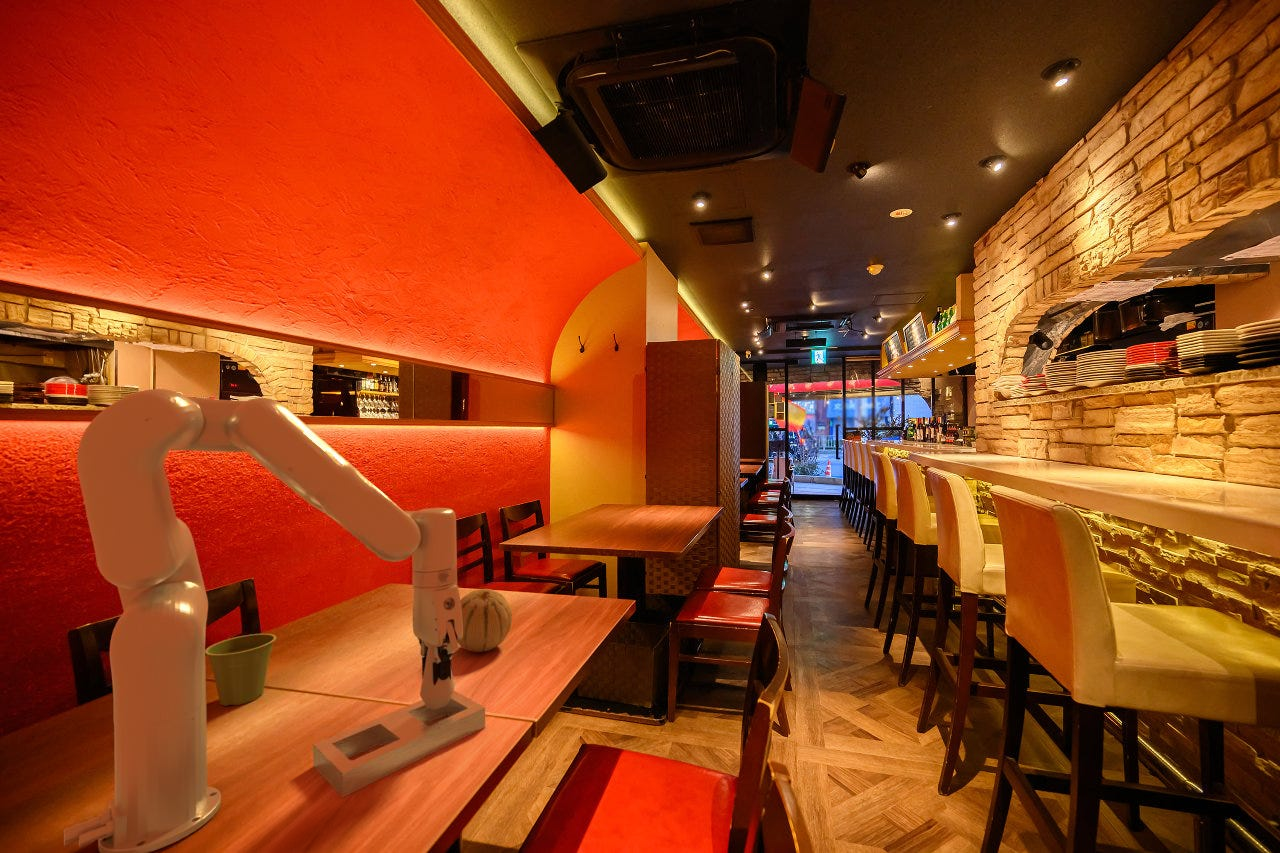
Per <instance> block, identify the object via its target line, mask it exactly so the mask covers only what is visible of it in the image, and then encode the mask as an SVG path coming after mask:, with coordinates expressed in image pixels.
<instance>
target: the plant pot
mask: <svg viewBox="0 0 1280 853" xmlns="http://www.w3.org/2000/svg"><path fill="white" fill-rule="evenodd" d="M276 639H277V636H276V635H275V634H272V633H254V634H252V633H251V634H248V635H247V634H246V635H241V636H235V637H232V638H231V637H230V638H227V639H224V640H222V641H218V642H217V643H213V644H212V645H210V646H208V647H207V648H205V656H206V655H207V656H208V660H209V663H210V665H211V668H212V671H213V677H214V681H215V686H216V691H217V695H218V701H219V704H220V705H221V706H224V707H228V706H229V705H233V706H240V705H243V704H246V703H249V702H252V701H254V700H257V699H258V698H259V697H260V696H261V695H263V694H264V690H265V685H266V680H267V673H268V668H269V661H270V657H271V652H272V650H273V644H274V642H275V641H276Z"/></svg>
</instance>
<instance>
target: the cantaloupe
mask: <svg viewBox="0 0 1280 853" xmlns="http://www.w3.org/2000/svg"><path fill="white" fill-rule="evenodd" d="M460 601H461V609H462V623H463V637H462V639H461V640H457V644H459V645H458V646H460V647H461V648H462V649H464V650H465V651H466V650H467V651H470V652H474V653H482V652H488V651H491V650H493V649H495V648H497V647H498V646H499V645H501V643H503V642H504V640H505V639H506V638H507V636H508V634H509V632H510V629H511V627H512V620H513V617H512V616H513V614H512V609H511V607H510V604H509V602H508V601H507V598H506V597H504V595H503V594H502V593H500V592H498V591H496V590H493V589H490V588H481V589H476V590H472V591H470V592H469V593H466V595H464V596H463V597H462V598H460Z"/></svg>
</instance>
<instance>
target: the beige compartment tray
mask: <svg viewBox="0 0 1280 853" xmlns="http://www.w3.org/2000/svg"><path fill="white" fill-rule="evenodd" d="M445 714H448V715H447V716H448V717H446V718H443V719H441V720H439V721H437V722H435V723H433V724H430V725H427V724H429V723H431V722H433V721H435V720H437V718H438V719H439V717H440V718H442V717H444V716H446V715H445ZM443 715H444V716H443ZM449 715H450V716H449ZM441 716H442V717H441ZM484 728H486V707H485V706H483V705H481V704H480V703H478V702H475V701H474V700H472V699H470V698H468V697H467V696H464V695H463V694H462V693H459V692H457V691H456V690H454V692H453V694H452V696H451V699H450V701H449V703H448V704H447V706H444V707H441V708H438V709H429V708H427V707H426V705H425V703H424V701H423V700H422V699H421V700H418V701H415V702H413V703H411V704H408V705H407V706H403V707H401V708H400V709H395V710H394V711H392V712H389V713H386V714H384V715H382V716H379V717H377V718H374V719H372V720H370V721H367V722H365V723H361V724H360V725H357V726H355V727H353V728H349V729H347V730H345V731H343V732H340V733H337V734H334V735H333V736H331V737H328V738H325V739H322V740H320V741H318V742H316V743H315V742H314V744H313V747H312V748H313V767H314V768H315V769H316V770H317V772H318V773H319V774H320V775H322V777H323V778H324V779H325V780H326V781H327V782H328V783H329V784H330V785H331V786H332V787H333V789H334V790H335V791H336V792H337V793H338V794H339V795H340V796H341V797H342V798H345V797H348V795H351V794H352V793H354V792H357V791H359V790H361V789H363V788H364V787H367V786H369V785H371V784H373V783H375V782H377V781H379V780H381V779H383V778H385V777H387V776H389V775H391V774H393V773H395V772H397V771H400V770H402V769H404V768H405V767H408V766H410V765H411V764H413V763H416V762H417V761H419V760H422V759H423V758H425V757H427V756H430V755H431V754H434V753H436V752H438V751H440V750H441V749H444V748H446V747H448V746H450V745H452V744H454V743H456V742H459V741H460V740H462V739H464V738H467V737H468V736H471V735H472V734H474V733H476V732H479V731H480V730H482V729H484ZM379 745H381V747H379V748H377V749H375V750H372V751H370V752H369V753H366V754H364V755H361V756H359V757H357V758H355V759H352V760H351V759H350V758H352V757H354V756H356V755H359V754H361V753H363V752H365V751H368V750H370V749H373V748H375V747H377V746H379Z"/></svg>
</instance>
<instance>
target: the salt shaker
mask: <svg viewBox="0 0 1280 853" xmlns="http://www.w3.org/2000/svg"><path fill="white" fill-rule="evenodd" d="M445 641H446V639H444V640H443V642H445ZM424 644H425V646H427V647H428V650H427V656H426V663H425V669H424V674H423V678H422V681H421V686H420V691H419V695H420V696H419V697H420V698H421V700H423V701H424V703H425V705H426V707H427V708H429V709H438V708H441V707H444V706H447V704H448V703H449V701H450V699H451V696H452V694H453V692H454V691H455V681H454V678H453V677H454V676H453V672H452V670H451V680H450V677H448V678H447V679H446V680H441V679H439V678H438V681H437V683H436V684H435V685H434V684H433V663H434V662H435V656H434V645H432V644H430V643H428V642H426V641H424ZM445 648H446V646H444V647H441V648H440V653H441V651H442V650H443V649H445Z"/></svg>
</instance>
